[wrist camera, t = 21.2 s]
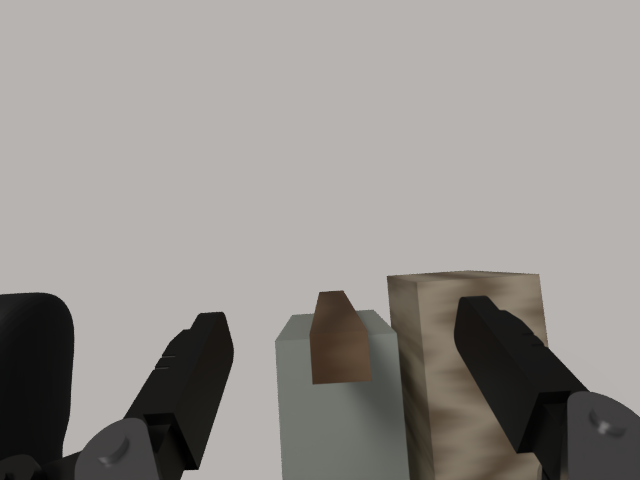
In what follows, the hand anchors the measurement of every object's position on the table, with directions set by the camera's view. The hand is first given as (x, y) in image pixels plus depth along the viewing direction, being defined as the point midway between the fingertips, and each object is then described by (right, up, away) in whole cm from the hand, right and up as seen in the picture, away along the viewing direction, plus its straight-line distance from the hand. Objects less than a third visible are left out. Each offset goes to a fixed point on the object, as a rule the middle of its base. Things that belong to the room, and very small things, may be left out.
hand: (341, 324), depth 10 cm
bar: (+1, -5, +16) cm, 16 cm away
